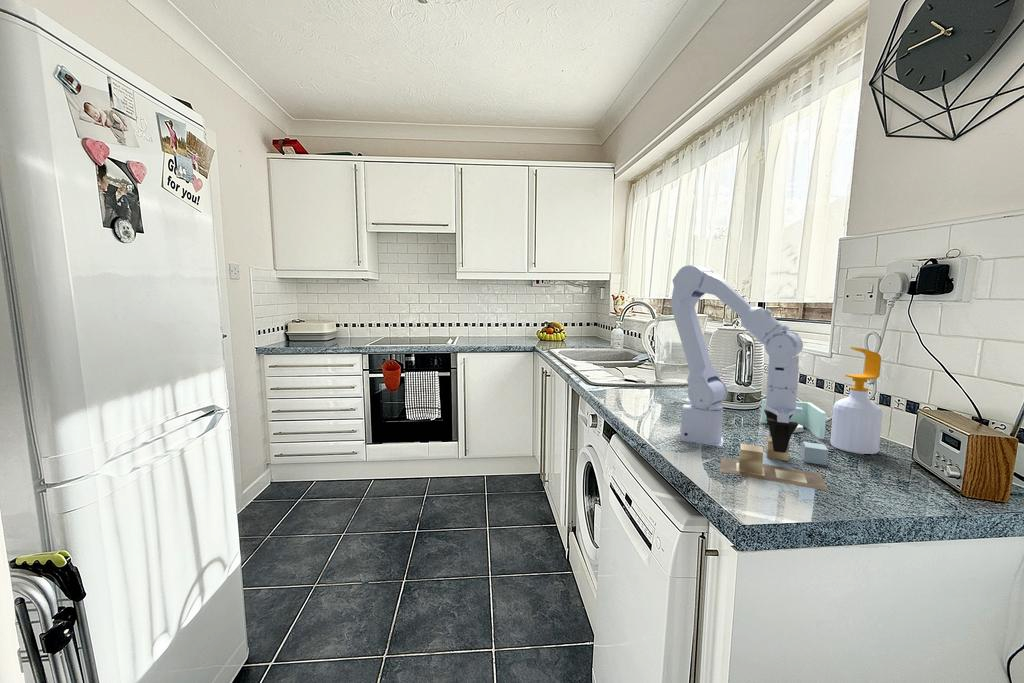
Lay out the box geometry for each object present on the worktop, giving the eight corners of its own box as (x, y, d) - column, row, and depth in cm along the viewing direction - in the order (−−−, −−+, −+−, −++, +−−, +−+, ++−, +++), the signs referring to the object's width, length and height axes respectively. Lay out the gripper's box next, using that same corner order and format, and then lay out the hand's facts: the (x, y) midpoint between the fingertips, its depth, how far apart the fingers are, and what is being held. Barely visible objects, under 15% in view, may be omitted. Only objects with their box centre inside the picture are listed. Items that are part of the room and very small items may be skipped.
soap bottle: (821, 442, 106) (829, 345, 104) (858, 442, 106) (867, 345, 104) (848, 455, 98) (857, 349, 95) (889, 455, 97) (899, 349, 95)
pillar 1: (739, 470, 86) (740, 449, 86) (739, 464, 90) (740, 443, 89) (761, 474, 85) (763, 452, 84) (760, 467, 88) (762, 446, 88)
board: (719, 474, 86) (719, 471, 86) (721, 459, 94) (721, 457, 94) (828, 493, 77) (828, 490, 77) (820, 476, 85) (820, 473, 85)
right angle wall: (760, 424, 124) (762, 398, 123) (808, 428, 120) (810, 402, 119) (770, 436, 113) (772, 408, 112) (823, 441, 109) (826, 412, 108)
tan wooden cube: (766, 460, 94) (768, 440, 94) (765, 454, 98) (767, 435, 97) (788, 463, 92) (789, 443, 92) (786, 457, 96) (787, 438, 95)
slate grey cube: (804, 464, 92) (805, 447, 91) (801, 458, 95) (802, 441, 95) (826, 468, 90) (828, 450, 89) (823, 462, 93) (824, 444, 93)
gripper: (808, 394, 85) (804, 460, 86) (799, 382, 98) (795, 439, 99) (767, 391, 88) (764, 454, 90) (763, 380, 101) (760, 435, 102)
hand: (778, 446), depth 94 cm, fingers open, 7 cm apart
